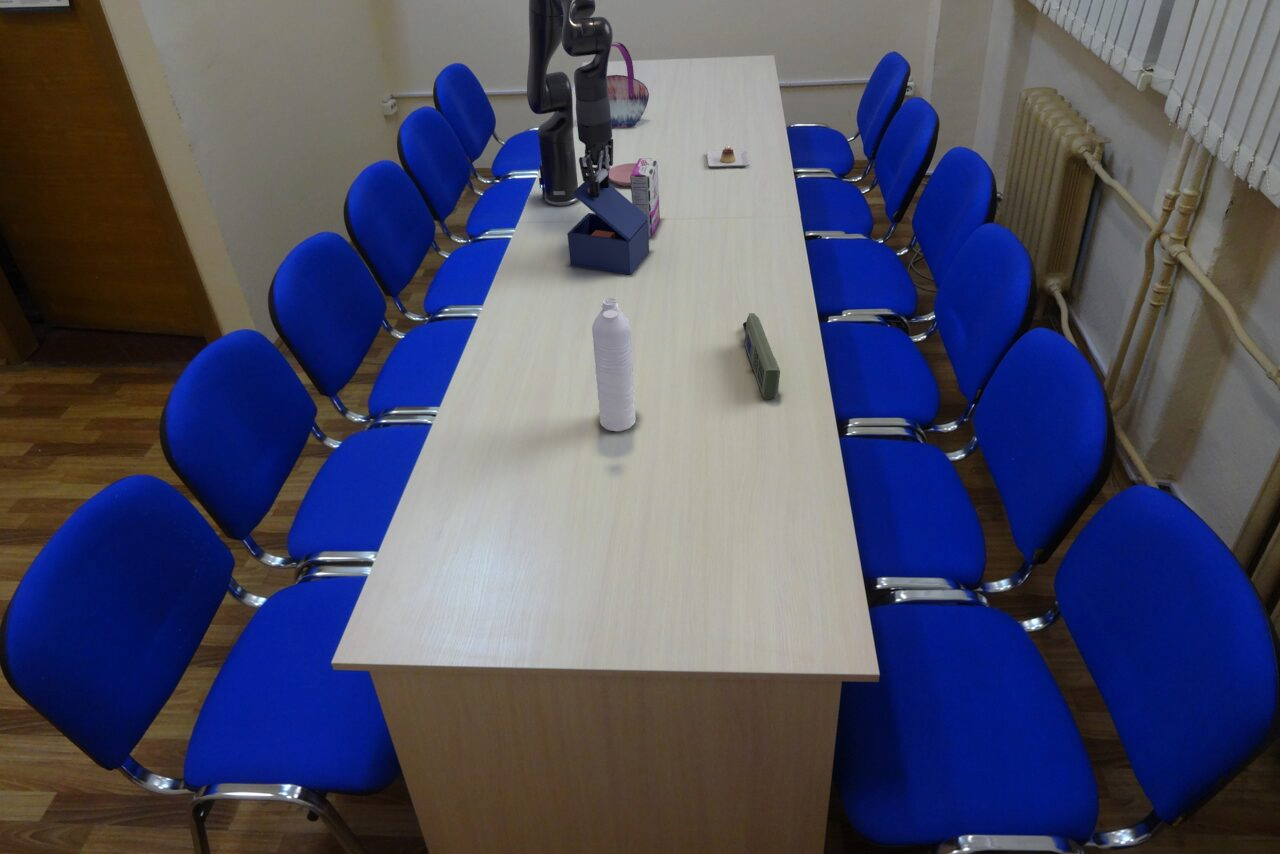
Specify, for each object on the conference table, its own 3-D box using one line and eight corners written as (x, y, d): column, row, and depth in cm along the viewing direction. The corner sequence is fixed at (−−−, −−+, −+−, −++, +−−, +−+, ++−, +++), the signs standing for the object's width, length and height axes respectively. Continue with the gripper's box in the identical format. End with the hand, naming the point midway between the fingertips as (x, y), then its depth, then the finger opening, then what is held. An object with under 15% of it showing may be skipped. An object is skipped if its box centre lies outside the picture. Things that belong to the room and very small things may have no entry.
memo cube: (588, 257, 206) (587, 238, 203) (597, 248, 209) (595, 229, 206) (607, 260, 204) (606, 241, 201) (616, 251, 208) (614, 232, 205)
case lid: (571, 194, 193) (583, 176, 189) (593, 174, 201) (604, 157, 198) (628, 241, 195) (640, 225, 191) (647, 219, 203) (659, 203, 200)
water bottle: (599, 411, 158) (589, 292, 143) (634, 409, 158) (628, 289, 143) (600, 441, 151) (590, 319, 136) (637, 438, 151) (630, 316, 136)
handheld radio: (760, 400, 159) (737, 329, 178) (778, 399, 159) (752, 329, 179) (764, 370, 155) (739, 301, 174) (782, 369, 155) (755, 301, 175)
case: (570, 265, 205) (567, 233, 199) (591, 243, 213) (588, 212, 208) (630, 274, 200) (628, 242, 195) (649, 252, 208) (648, 220, 203)
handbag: (583, 128, 281) (577, 48, 265) (587, 118, 288) (581, 39, 273) (648, 127, 279) (646, 46, 263) (650, 117, 286) (648, 38, 271)
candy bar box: (641, 218, 224) (638, 157, 214) (660, 219, 223) (658, 158, 213) (632, 237, 215) (629, 174, 205) (652, 238, 214) (649, 175, 204)
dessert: (749, 168, 248) (750, 151, 245) (708, 169, 248) (708, 153, 246) (746, 153, 257) (746, 137, 255) (706, 154, 258) (706, 138, 255)
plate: (665, 174, 247) (665, 168, 245) (639, 192, 237) (639, 185, 236) (624, 166, 253) (624, 160, 252) (597, 183, 244) (596, 176, 242)
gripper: (591, 106, 193) (597, 179, 203) (564, 126, 182) (572, 202, 193) (622, 108, 190) (626, 182, 201) (596, 129, 180) (602, 206, 190)
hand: (600, 191), depth 197 cm, fingers closed on case lid, 5 cm apart
